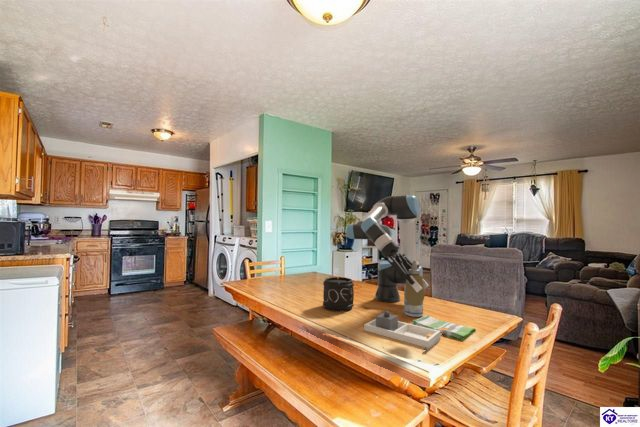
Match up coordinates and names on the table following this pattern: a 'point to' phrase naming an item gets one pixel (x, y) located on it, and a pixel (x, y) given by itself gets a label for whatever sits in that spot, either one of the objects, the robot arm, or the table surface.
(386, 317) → the block
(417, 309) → the supplement tub
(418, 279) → the squeeze bottle
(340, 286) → the black marked cylinder
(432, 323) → the dish towel
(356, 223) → the robot arm
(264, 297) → the table surface
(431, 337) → the tray
